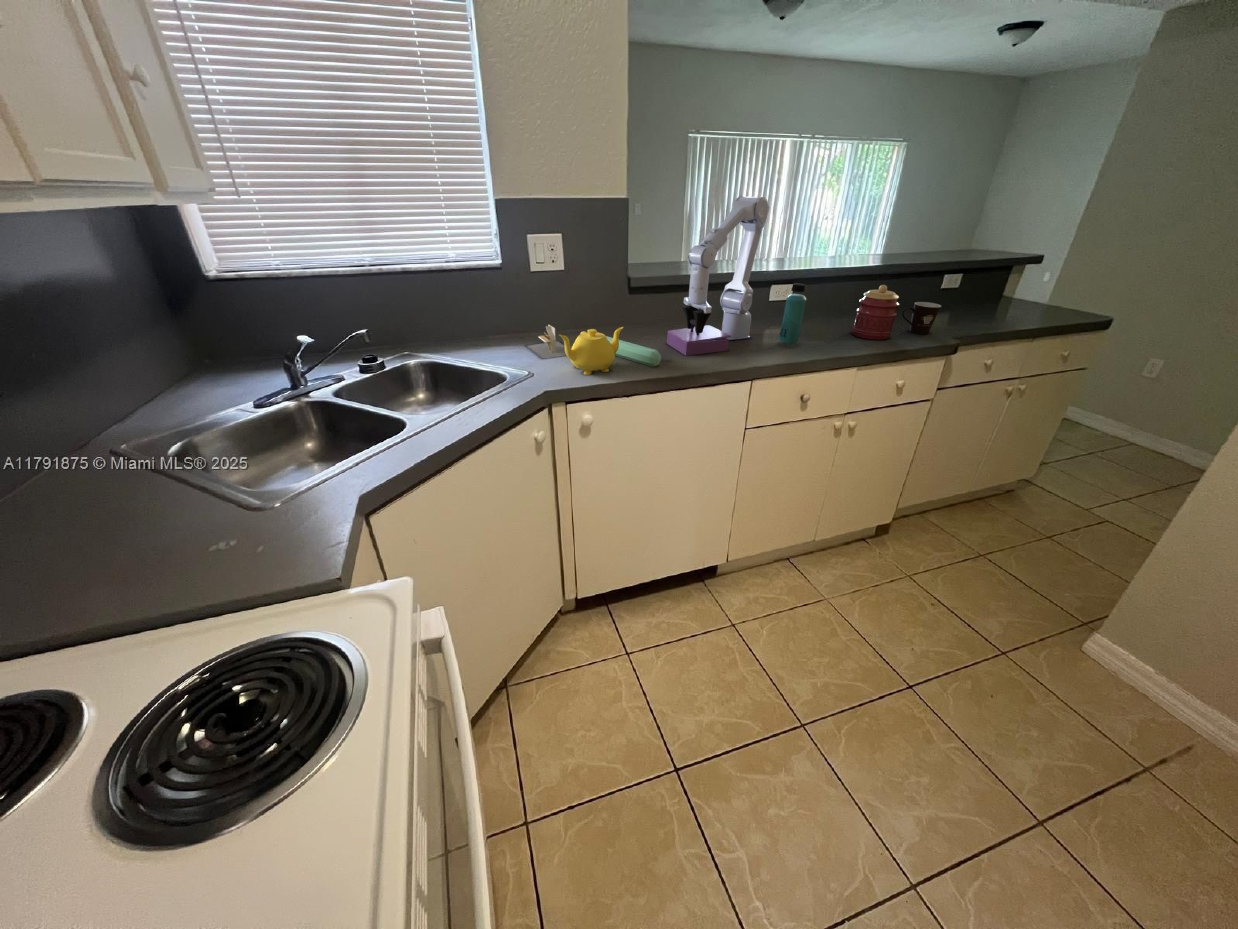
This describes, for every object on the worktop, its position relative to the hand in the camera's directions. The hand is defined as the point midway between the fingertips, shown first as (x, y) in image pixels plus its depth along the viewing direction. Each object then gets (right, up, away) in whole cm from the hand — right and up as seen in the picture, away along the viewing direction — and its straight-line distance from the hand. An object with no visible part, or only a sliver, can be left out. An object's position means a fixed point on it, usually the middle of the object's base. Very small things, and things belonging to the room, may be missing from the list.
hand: (694, 330), depth 160 cm
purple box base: (+1, -5, +3) cm, 6 cm away
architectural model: (-47, -7, -1) cm, 48 cm away
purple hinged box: (+1, -1, +1) cm, 2 cm away
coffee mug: (+87, +6, +25) cm, 91 cm away
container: (-23, -11, -8) cm, 27 cm away
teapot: (-33, -16, -16) cm, 40 cm away
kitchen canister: (+67, +3, +19) cm, 70 cm away
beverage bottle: (+33, -3, +7) cm, 34 cm away
